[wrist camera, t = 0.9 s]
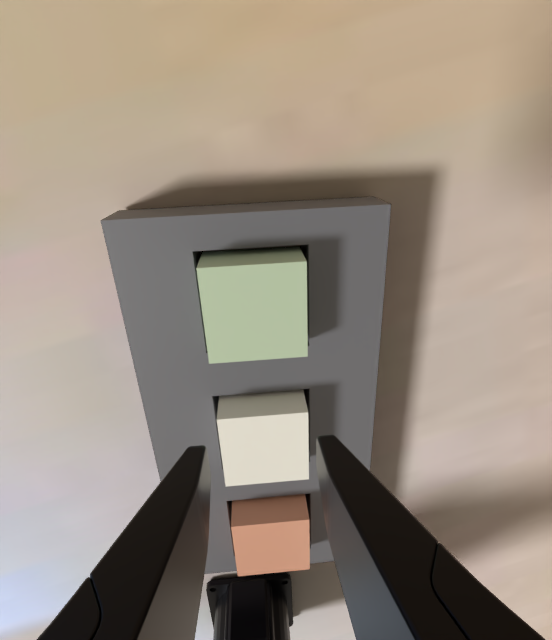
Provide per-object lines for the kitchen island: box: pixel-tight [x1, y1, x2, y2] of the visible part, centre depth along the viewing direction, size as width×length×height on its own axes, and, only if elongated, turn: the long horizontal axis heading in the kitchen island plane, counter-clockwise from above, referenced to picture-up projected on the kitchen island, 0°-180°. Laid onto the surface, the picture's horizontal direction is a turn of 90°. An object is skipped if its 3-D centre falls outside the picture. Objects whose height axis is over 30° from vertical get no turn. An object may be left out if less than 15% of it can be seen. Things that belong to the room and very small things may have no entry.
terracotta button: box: [231, 494, 310, 576], centre depth 24 cm, size 4×4×2 cm
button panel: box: [101, 197, 391, 574], centre depth 22 cm, size 23×12×2 cm, turn 2°
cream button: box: [217, 389, 309, 487], centre depth 21 cm, size 4×4×2 cm
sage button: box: [196, 246, 308, 364], centre depth 18 cm, size 4×4×2 cm
